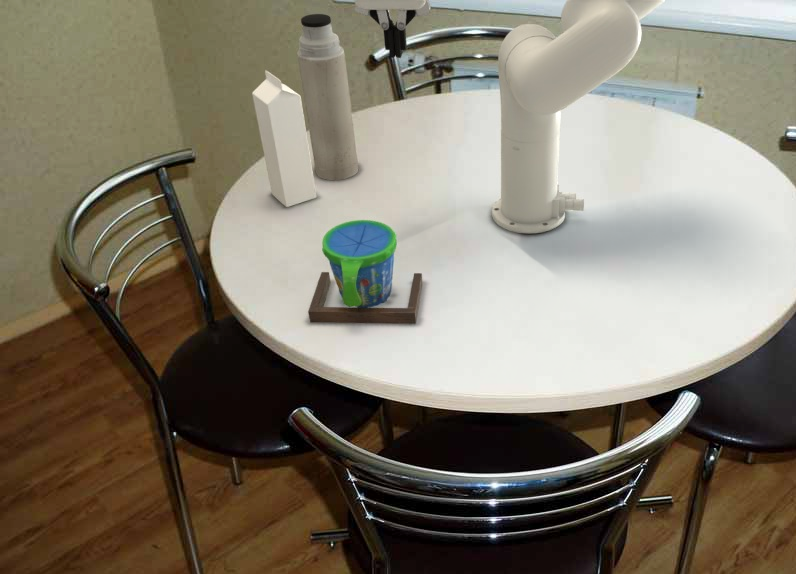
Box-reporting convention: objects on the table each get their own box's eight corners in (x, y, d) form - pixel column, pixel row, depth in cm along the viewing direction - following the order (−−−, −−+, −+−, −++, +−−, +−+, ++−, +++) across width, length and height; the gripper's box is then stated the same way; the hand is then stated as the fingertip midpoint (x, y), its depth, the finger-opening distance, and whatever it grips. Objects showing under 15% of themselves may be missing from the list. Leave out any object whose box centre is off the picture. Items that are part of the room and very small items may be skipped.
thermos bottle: (335, 157, 162) (314, 6, 144) (367, 167, 158) (349, 14, 140) (306, 173, 156) (281, 19, 138) (339, 184, 153) (317, 28, 135)
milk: (286, 208, 147) (262, 85, 132) (271, 194, 150) (246, 73, 136) (317, 197, 149) (297, 76, 135) (302, 184, 153) (281, 65, 139)
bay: (422, 283, 129) (421, 273, 127) (415, 324, 121) (414, 312, 120) (323, 282, 129) (321, 271, 128) (309, 322, 121) (307, 311, 120)
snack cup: (384, 331, 119) (377, 272, 113) (314, 322, 121) (303, 263, 115) (414, 271, 131) (409, 214, 125) (350, 264, 133) (342, 207, 126)
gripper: (324, -77, 109) (341, 63, 120) (439, -77, 108) (445, 64, 120) (334, -90, 114) (350, 45, 126) (443, -90, 114) (449, 46, 126)
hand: (396, 54), depth 123 cm, fingers closed
